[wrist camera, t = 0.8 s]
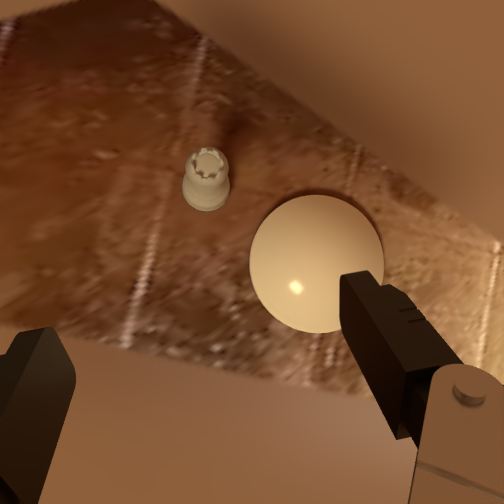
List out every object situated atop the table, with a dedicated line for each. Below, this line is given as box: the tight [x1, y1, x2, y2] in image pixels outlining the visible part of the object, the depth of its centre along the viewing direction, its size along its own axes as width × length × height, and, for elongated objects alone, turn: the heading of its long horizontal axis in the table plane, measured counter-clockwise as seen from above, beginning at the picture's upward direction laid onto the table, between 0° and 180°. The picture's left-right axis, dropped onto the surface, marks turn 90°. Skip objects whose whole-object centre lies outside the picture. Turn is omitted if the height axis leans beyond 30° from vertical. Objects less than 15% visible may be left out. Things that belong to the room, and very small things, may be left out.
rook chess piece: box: [182, 146, 230, 211], centre depth 31 cm, size 4×4×8 cm
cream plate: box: [249, 195, 384, 333], centre depth 36 cm, size 13×13×1 cm
